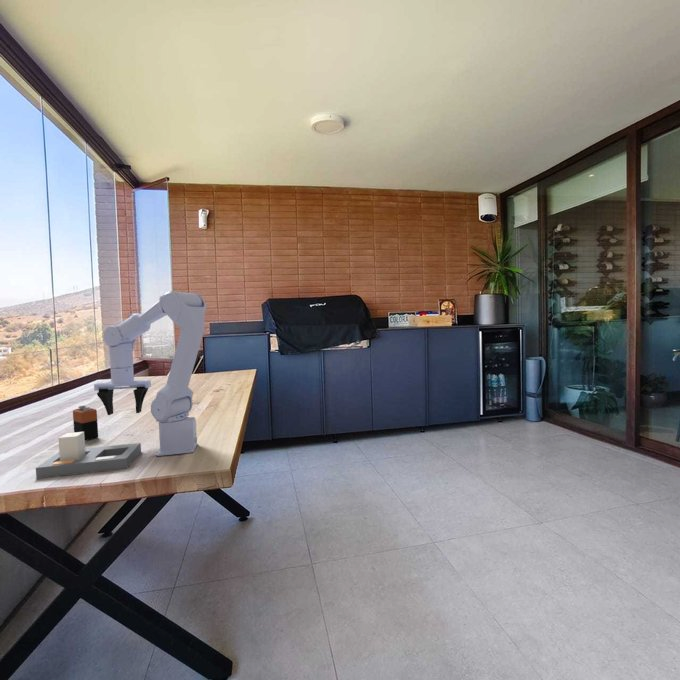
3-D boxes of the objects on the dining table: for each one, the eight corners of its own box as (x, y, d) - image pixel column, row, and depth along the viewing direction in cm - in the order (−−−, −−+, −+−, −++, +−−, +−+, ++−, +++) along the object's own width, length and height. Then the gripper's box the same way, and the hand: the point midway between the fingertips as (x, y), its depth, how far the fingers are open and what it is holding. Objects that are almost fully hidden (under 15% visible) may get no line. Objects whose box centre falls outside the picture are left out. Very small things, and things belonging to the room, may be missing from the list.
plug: (86, 461, 94) (84, 431, 94) (79, 467, 90) (77, 436, 90) (68, 463, 93) (66, 433, 93) (60, 469, 89) (58, 437, 89)
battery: (89, 434, 119) (87, 404, 118) (99, 437, 115) (97, 406, 114) (73, 438, 115) (71, 407, 114) (83, 441, 111) (81, 409, 111)
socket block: (141, 451, 101) (140, 442, 100) (127, 468, 89) (126, 457, 89) (62, 459, 96) (61, 449, 96) (36, 478, 84) (35, 467, 84)
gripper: (87, 370, 101) (90, 418, 101) (143, 367, 103) (146, 414, 104) (99, 367, 107) (102, 412, 108) (152, 364, 110) (154, 409, 111)
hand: (124, 413), depth 106 cm, fingers open, 7 cm apart
